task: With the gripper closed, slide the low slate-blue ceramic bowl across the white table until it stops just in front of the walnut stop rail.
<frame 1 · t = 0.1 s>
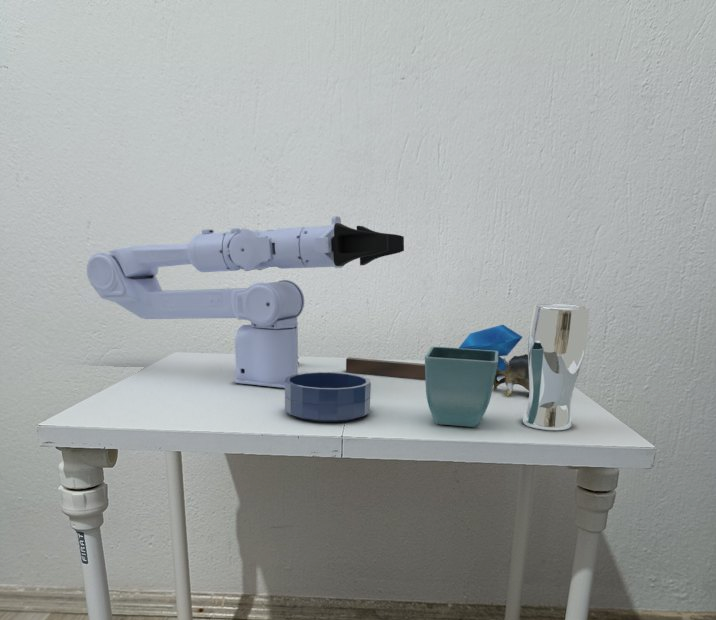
hand: (395, 243, 93), 22 cm above the table, tool horizontal, fingers open, 7 cm apart
flower pot: (457, 423, 86), on the table
crystal: (485, 375, 119), on the table
rook chess piece: (286, 366, 122), on the table
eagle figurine: (515, 395, 103), on the table
beer glass: (546, 425, 87), on the table
bowl: (327, 413, 89), on the table
stop rail: (390, 375, 115), on the table
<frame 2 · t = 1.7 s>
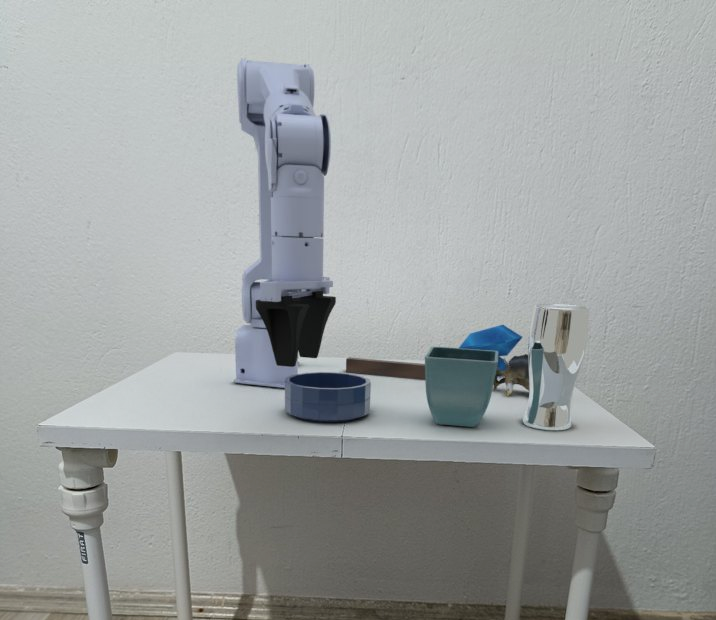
hand: (297, 361, 77), 8 cm above the table, tool pointing down, fingers open, 6 cm apart
nothing on the table moved.
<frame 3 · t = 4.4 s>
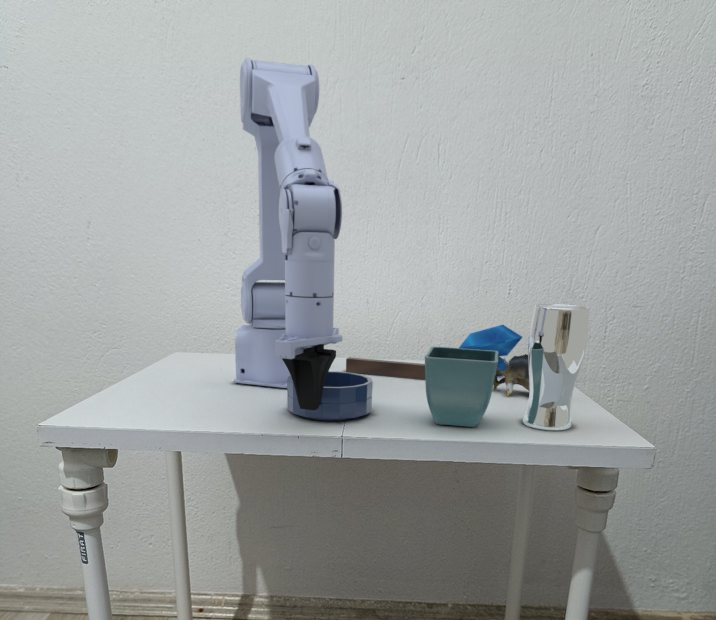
hand: (309, 408, 82), 2 cm above the table, tool pointing down, fingers closed
bowl: (329, 412, 89), on the table, touching gripper
everything else where it was.
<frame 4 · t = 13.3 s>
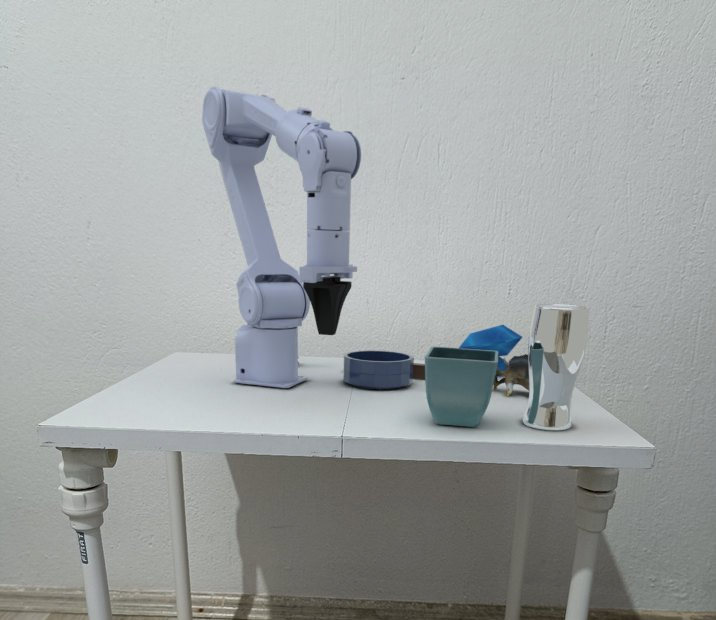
hand: (327, 334, 93), 9 cm above the table, tool pointing down, fingers closed
bowl: (377, 383, 108), on the table
everything else where it was.
at the end: bowl inside the target area on the table beside the stop rail (0.9 cm from its centre), on the table; bowl tilted 0°; bowl moved 21.9 cm from its start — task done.
